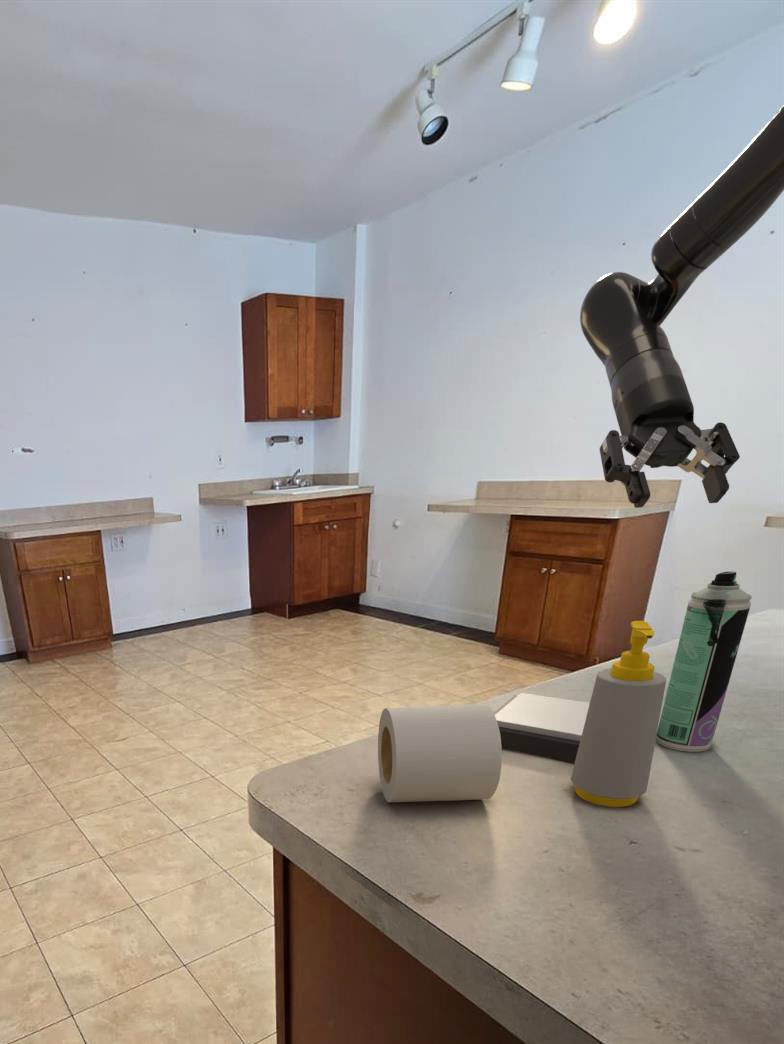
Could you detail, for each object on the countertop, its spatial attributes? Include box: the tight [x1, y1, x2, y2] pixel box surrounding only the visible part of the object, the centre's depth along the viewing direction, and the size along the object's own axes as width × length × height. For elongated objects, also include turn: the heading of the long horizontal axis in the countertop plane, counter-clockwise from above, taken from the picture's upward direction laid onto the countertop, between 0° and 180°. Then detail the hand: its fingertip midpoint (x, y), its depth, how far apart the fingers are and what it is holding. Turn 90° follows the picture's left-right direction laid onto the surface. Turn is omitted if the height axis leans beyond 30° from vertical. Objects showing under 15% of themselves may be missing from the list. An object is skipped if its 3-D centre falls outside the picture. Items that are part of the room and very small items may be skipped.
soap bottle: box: [570, 620, 667, 808], centre depth 63 cm, size 7×7×18 cm
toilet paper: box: [377, 703, 503, 803], centre depth 67 cm, size 10×10×10 cm
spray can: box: [655, 571, 753, 753], centre depth 73 cm, size 6×6×20 cm
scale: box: [494, 692, 590, 764], centre depth 80 cm, size 16×14×3 cm
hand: (680, 500), depth 76 cm, fingers open, 8 cm apart
